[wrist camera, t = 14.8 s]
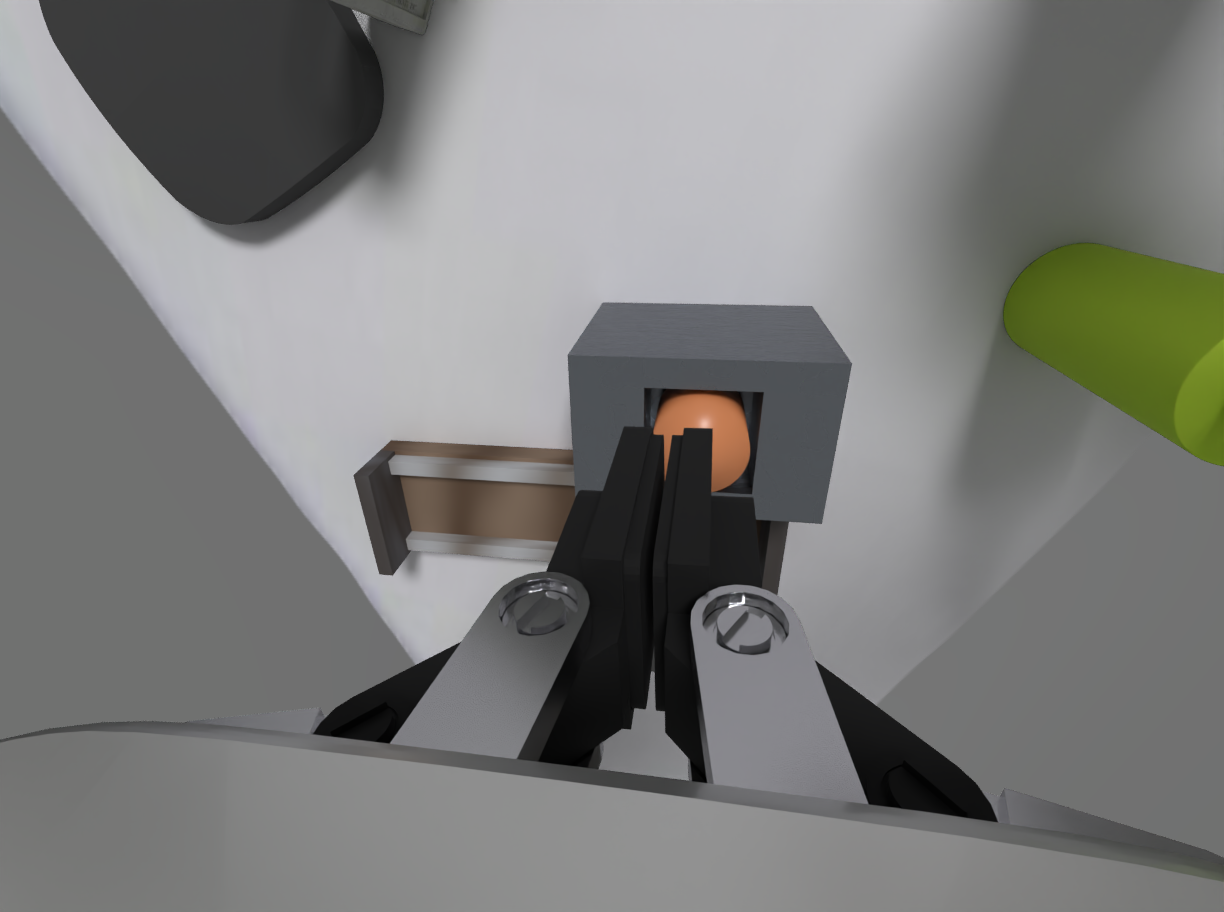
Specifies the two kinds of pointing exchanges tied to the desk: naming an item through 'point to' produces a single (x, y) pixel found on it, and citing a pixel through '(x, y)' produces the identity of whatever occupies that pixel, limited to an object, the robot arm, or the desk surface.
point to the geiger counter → (395, 12)
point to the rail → (486, 504)
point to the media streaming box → (226, 93)
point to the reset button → (708, 412)
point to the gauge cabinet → (716, 360)
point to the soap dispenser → (1130, 336)
